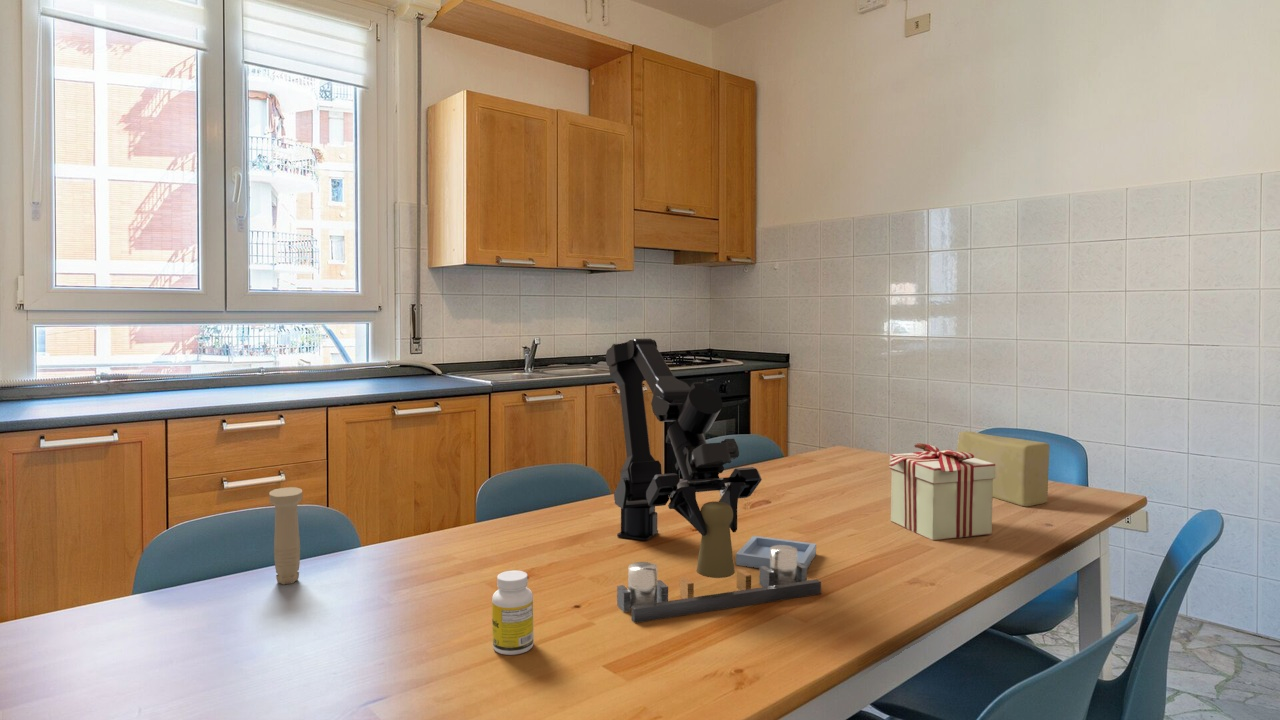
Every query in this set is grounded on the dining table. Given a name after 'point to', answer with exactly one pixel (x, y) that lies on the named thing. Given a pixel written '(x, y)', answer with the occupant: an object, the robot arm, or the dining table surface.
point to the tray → (759, 551)
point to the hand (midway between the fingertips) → (720, 532)
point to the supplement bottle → (512, 614)
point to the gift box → (942, 493)
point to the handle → (286, 533)
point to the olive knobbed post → (716, 541)
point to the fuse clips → (776, 585)
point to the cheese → (1012, 466)
